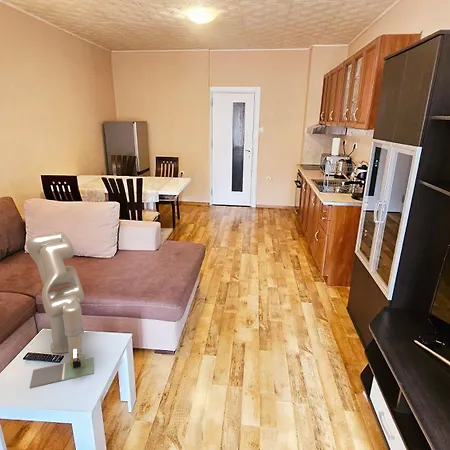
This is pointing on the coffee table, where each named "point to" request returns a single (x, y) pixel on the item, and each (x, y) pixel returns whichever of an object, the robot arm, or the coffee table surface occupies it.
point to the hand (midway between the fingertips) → (77, 359)
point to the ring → (77, 356)
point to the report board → (61, 373)
